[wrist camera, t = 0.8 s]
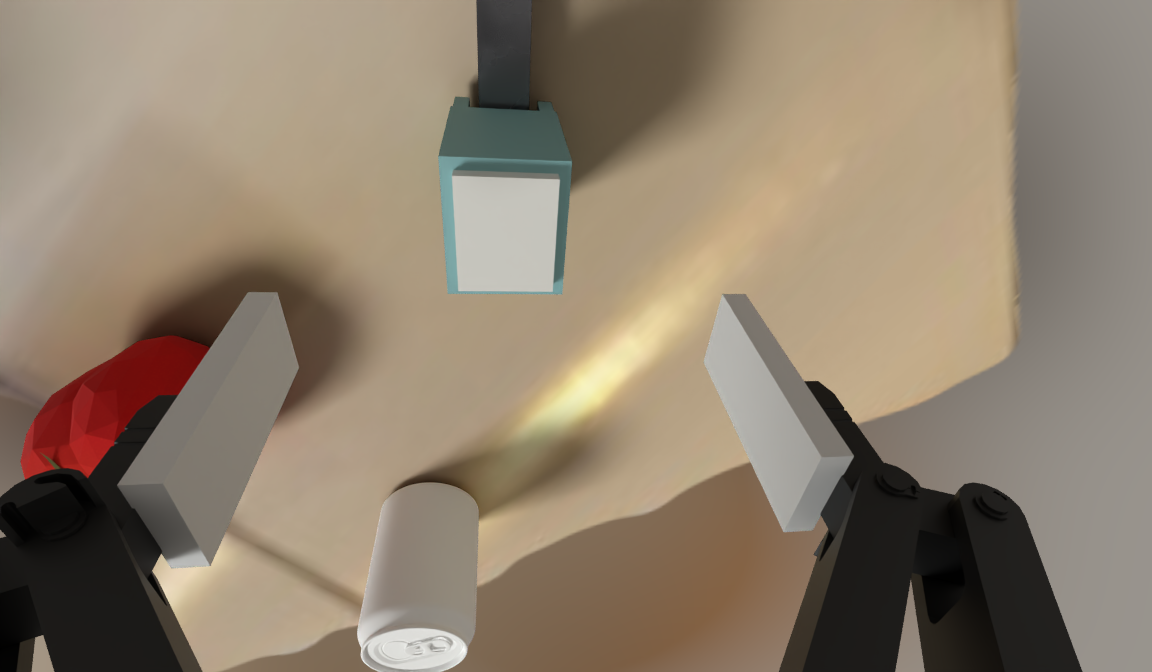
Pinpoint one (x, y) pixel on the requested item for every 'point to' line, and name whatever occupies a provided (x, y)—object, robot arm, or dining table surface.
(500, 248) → the block
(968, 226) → the dining table surface
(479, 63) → the rail
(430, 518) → the beverage can
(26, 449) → the tomato
